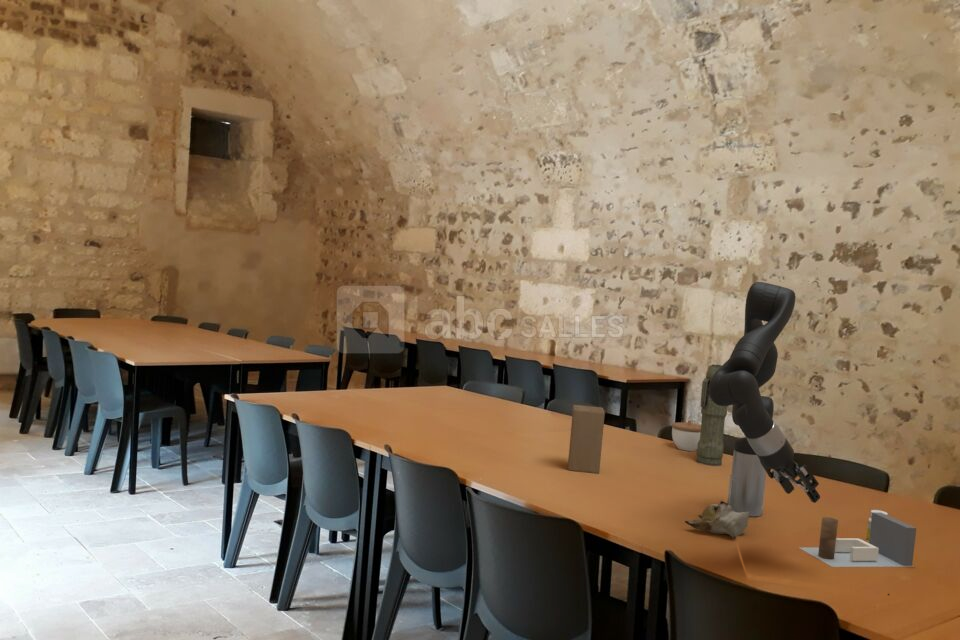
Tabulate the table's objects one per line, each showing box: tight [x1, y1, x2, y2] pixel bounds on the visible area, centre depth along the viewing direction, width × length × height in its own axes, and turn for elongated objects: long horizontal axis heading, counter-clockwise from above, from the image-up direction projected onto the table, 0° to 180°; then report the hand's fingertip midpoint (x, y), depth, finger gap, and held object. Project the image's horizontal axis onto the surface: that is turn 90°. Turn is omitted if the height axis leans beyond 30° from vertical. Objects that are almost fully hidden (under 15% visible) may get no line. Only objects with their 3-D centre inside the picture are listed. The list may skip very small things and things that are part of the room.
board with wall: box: [798, 512, 917, 568], centre depth 200 cm, size 22×13×10 cm, turn 103°
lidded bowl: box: [671, 419, 701, 452], centre depth 321 cm, size 13×13×11 cm
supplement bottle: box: [866, 509, 889, 541], centre depth 216 cm, size 5×5×8 cm
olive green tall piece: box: [696, 364, 729, 467], centre depth 299 cm, size 9×12×35 cm
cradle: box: [835, 537, 879, 561], centre depth 200 cm, size 7×7×3 cm
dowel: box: [818, 516, 839, 559], centre depth 198 cm, size 4×4×9 cm
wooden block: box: [567, 404, 606, 474], centre depth 274 cm, size 10×10×20 cm
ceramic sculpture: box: [684, 500, 750, 539], centre depth 215 cm, size 11×9×15 cm
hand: (803, 495), depth 195 cm, fingers open, 8 cm apart
